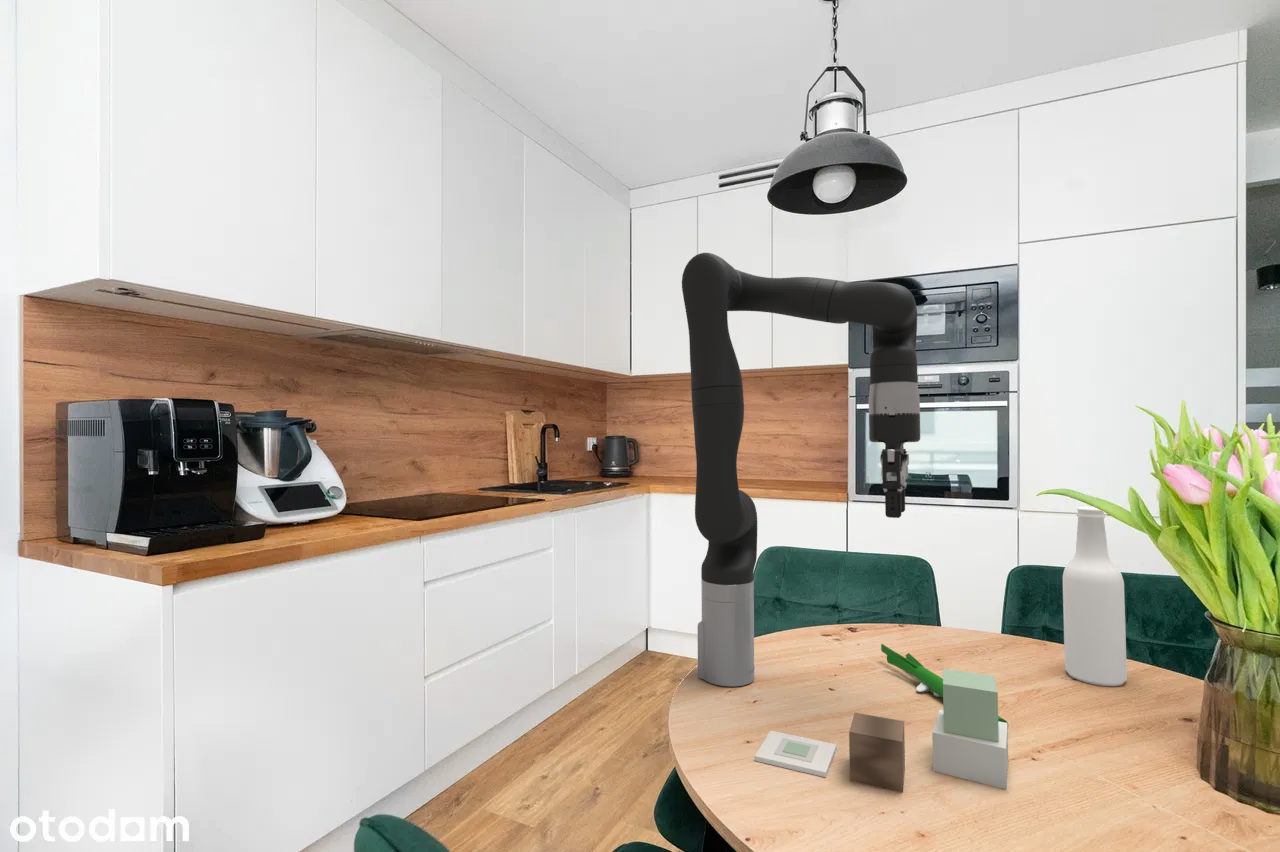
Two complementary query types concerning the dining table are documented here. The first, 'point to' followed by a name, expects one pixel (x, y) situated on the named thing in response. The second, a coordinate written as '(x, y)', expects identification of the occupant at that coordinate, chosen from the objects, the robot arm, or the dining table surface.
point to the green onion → (918, 673)
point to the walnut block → (877, 752)
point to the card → (797, 753)
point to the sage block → (970, 704)
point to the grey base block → (971, 755)
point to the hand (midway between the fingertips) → (895, 514)
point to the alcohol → (1094, 607)
